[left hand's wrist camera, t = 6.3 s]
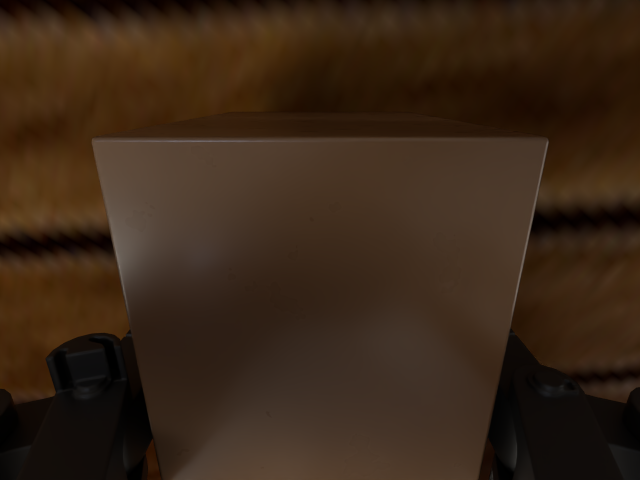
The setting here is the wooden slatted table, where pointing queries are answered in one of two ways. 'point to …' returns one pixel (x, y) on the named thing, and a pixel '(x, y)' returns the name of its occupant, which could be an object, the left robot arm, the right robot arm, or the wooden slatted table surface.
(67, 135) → the wooden slatted table surface
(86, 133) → the wooden slatted table surface
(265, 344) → the bar
